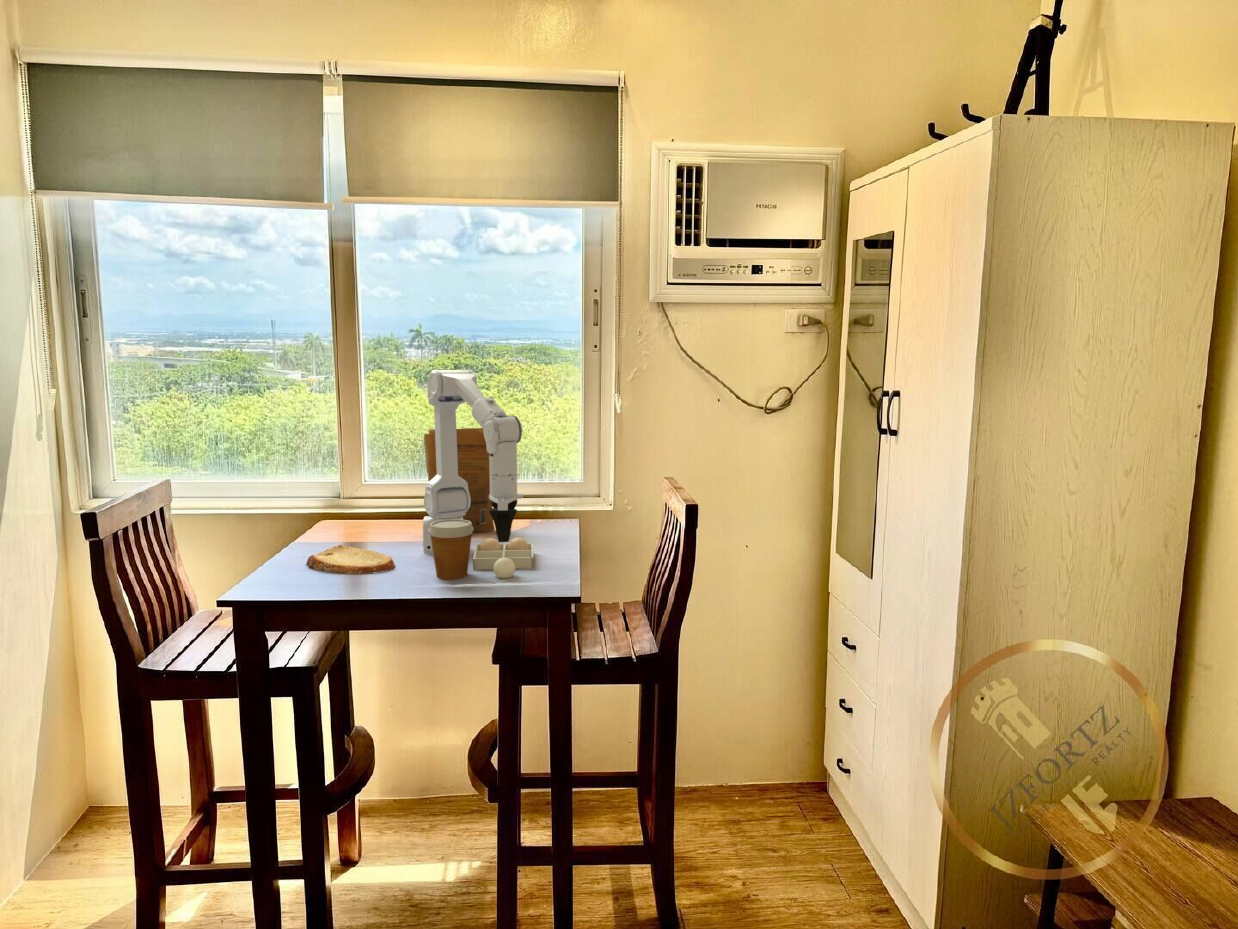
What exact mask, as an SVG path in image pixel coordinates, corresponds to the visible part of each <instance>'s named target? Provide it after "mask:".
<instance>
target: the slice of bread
mask: <svg viewBox="0 0 1238 929" xmlns="http://www.w3.org/2000/svg"><path fill="white" fill-rule="evenodd" d="M306 564H307V565H308V567H309V568H310V569H312V570H316V571H319V570H321V571H320V572H324V571H327V572H326V573H331V572H336V574H344V573H345V574H346V573H347V574H349V575H361V574H362V573H363V574H364V573H367V574H374V573H373V572H379V573H381V572H380V571H385V570H390V571H391V570H392V571H393V570H395V569H396V568H397V566H396V564H395V562H394V559H393V558H392V557H391V556H389V555H386V554H383V553H380V552H377V551H373V550H368V549H362V548H357V547H351V546H348V545H347V546H346V545H342V544H338V545H337V546H333V547H330V548H327V549H325V550H323V551H321V552H319V553H317V554H312V555H310V556H309V557H308V558H307V560H306ZM395 567H396V568H395ZM394 568H395V569H394ZM385 572H386V571H385ZM350 573H351V574H350ZM347 574H346V575H347ZM363 574H362V575H363Z"/></svg>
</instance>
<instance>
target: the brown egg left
mask: <svg viewBox="0 0 1238 929" xmlns="http://www.w3.org/2000/svg"><path fill="white" fill-rule="evenodd" d="M480 544H481V547H480V550H481V551H500V544H501V543H500V542H499V541H498V539H496V538H495V537H494V538H493V537H488V538H486V539H484V540H482V541H481V543H480Z"/></svg>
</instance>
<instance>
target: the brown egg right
mask: <svg viewBox="0 0 1238 929" xmlns="http://www.w3.org/2000/svg"><path fill="white" fill-rule="evenodd" d="M527 543H528V542H527V541H526V539H524V538H523V537H515V538H512V539H511V540H509V542H508V544H509V546H508V549H509V550H528V544H527Z"/></svg>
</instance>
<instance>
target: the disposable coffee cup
mask: <svg viewBox="0 0 1238 929" xmlns="http://www.w3.org/2000/svg"><path fill="white" fill-rule="evenodd" d="M473 530H474V528H473V527H472V523H471V522H470V521H468V520H462V519H446V520H438V521H434V522H432V523H431V524H430V528H429V529H428V532H429V534H430V535H431V542H432V548H433V554H432V555H433V560H434V566H435V572H436V573H435V574H436V578H437V579H439V580H443V581H444V580H445V581H455V580H461V579H464V578H466V577H467V576H468V572H469V571H468V570H469V564H470V563H469V562H470V554H471V553H470V552H471V544H472V534H473V533H474V532H473Z"/></svg>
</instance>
